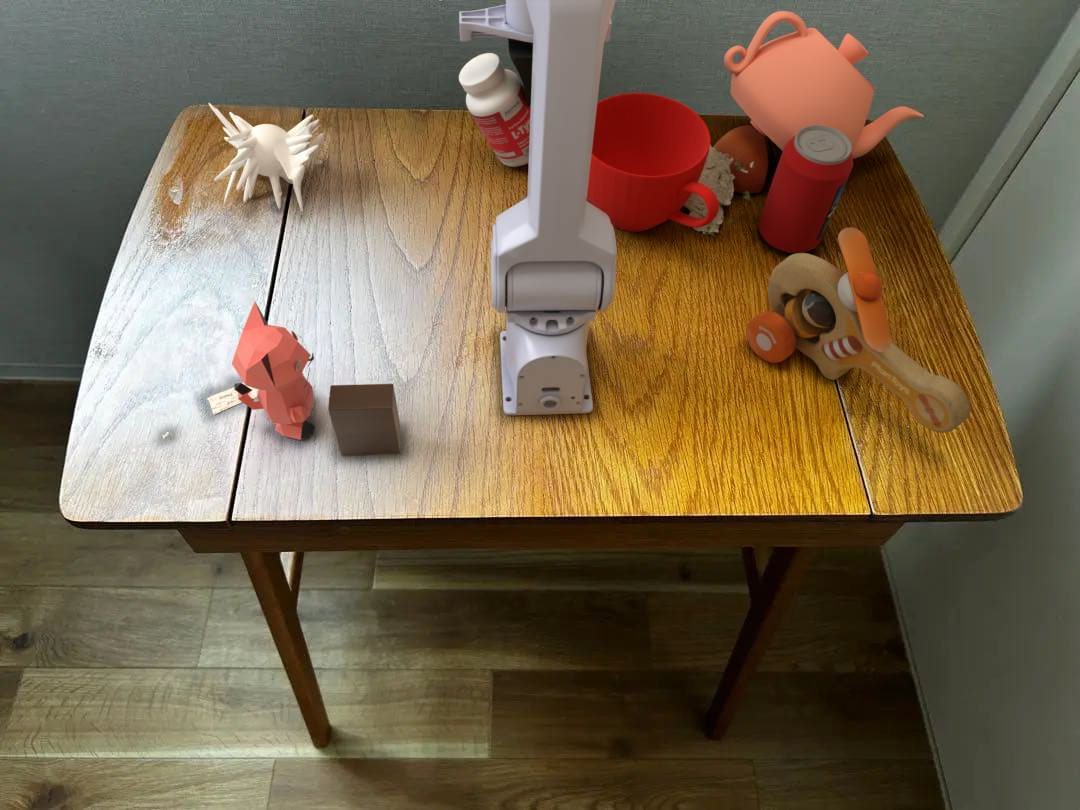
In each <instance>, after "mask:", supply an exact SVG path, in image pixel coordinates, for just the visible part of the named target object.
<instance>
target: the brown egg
mask: <svg viewBox="0 0 1080 810" xmlns="http://www.w3.org/2000/svg"><path fill="white" fill-rule="evenodd" d="M764 137H765V136H763V135H762V134H761V133H760V132H759V131H758V130H757V129H756V128H755V127H754V126H753V125H741V126H738V127H735V128H733V129H731V130H729V131H728V132H726V133H725V134H724V135H723V136H722V137H721V138H720V139H718V140H717V141H716V142H715V144H714V145H713V147H714V148H715V149H716V151H720V152H722V154H726V155H725V156H727V154H728V156H727V157H728V158H729V159H731V157H732V158H733V161H732V162H731V164H730V168H729V169H730V172H731V173H732V174H733V175H734V176H735V178H734V179H733V180H732V181H733V185H734V186H733V187H734V192H736V193H740V194H744V193H745V192H746V191H749V194H757V193H761V191H762V190H763V188H764V185H765V182H766V178H767V174H768V169H769V168H768V167H769V166H768V165H769V158H768V148H767V143H766V140H765V138H764ZM713 150H714V149H713ZM729 156H730V157H729ZM739 157H740V158H739ZM742 157H743V159H742ZM738 158H739V159H738ZM735 159H737V160H735ZM736 161H737V162H738V161H740V162H741V163H742V164H743V165H744V164H745V165H744V169H745V171H748V173H745V172H743V171H741V170H740V169H741V168H740V166H741V165H740V166H739V169H738V170H735V166H734V165H735V163H736ZM707 162H708V161H707ZM752 162H754V164H753V165H754V166H753V168H751V167H750V165H751V163H752ZM755 169H756V170H755ZM719 178H721V173H720V176H719ZM719 178H718V180H719ZM743 192H744V193H743Z"/></svg>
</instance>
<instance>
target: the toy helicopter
mask: <svg viewBox="0 0 1080 810" xmlns="http://www.w3.org/2000/svg"><path fill="white" fill-rule="evenodd" d="M837 236H838V237H837V242H838V245H839V248H840V251H841V255H842V258H843V261H844V263H845V267H846V270H847V272H845V273H843V272H842V271H841V270H840V269H839V268H838V267H836V266H835V265H834V264H832V263H830V262H829V261H827V260H825V259H824V258H821V257H819V256H817V255H814V254H810V253H806V252H802V253H793V254H792V253H791V255H788V256H787V257H786V258H785V259H783V260H782V261H780V262H779V263H778V264H777V265H776V266H775V267H774V269H773V270H772V271H771V274H770V277H769V279H768V284H767V297H768V304H769V307H770V310H765V311H761V312H759V313H757V315H755V316H753V317H752V318H751V319H750V320H749V321H748V322H747V325H746V328H745V334H746V335H745V336H746V339H747V342H748V344H749V347H750V348H751V349H752V351H753V352H754V353H755V355H757V356H758V357H759V358H761V359H762V360H763V361H765V362H768V363H773V364H777V363H781V362H783V361H785V360H786V359H787V358H789V357H790V356H791V355H793V353H794V352H795V350H796V349H797V350H798V351H800V352H801V353H802V354H804V356H807V357H808V358H809V359H811V360H812V361H813V362H814V363H815V364H816V366H817V368H818V370H819V371H820V373H821V375H822V376H823V377H825V379H828V380H830V381H833V380H834V381H835V380H837V379H839V378H841V377H842V376H843V375H844V374H846V373H847V372H849V370H850V369H854V368H855V369H860V370H862V371H864V372H866V373H867V374H868V375H869V376H871V377H872V378H874V379H875V380H876V381H877V382H878V383H880V384H881V385H882V386H884V387H885V388H887V390H889V391H890V392H892V393H893V394H894V395H895V396H897V397H899V399H901V400H902V401H903V402H904V403H905V404H906V406H907V407H908V409H909V411H910V414H911V416H913V418H914V419H915V420H916V422H918V423H919V424H920V425H921V426H922V427H924V428H925V429H926V430H927V429H928V430H930V431H931V432H934V433H939V434H940V433H941V434H945V433H950V432H952V431H954V430H955V429H956V428H957V427H959V426H960V425H962V424H963V423H964V422H966V421H967V420H968V419H969V416H970V414H971V403H970V400H969V397H968V396H967V394H966V392H965V391H964V390H963V388H961V386H959V384H958V383H957V382H955V381H953V380H951V378H948V377H946V376H942V375H938V374H934V373H931V372H930V371H928V370H927V369H926V368H924V367H922V365H921V364H919V363H918V362H917V361H916V360H915V359H913V358H912V357H911V356H910V355H909V354H908V353H906V352H905V351H904V350H903V349H901V348H900V347H899V346H898V345H896V344H895V343H894V342H893V337H892V333H891V328H890V325H889V324H890V323H889V321H888V320H889V319H888V316H887V313H886V309H885V304H884V300H883V299H884V298H883V295H882V290H883V282H882V279H881V277H880V276H878V275H877V270H876V266H875V262H874V259H873V255H872V252H871V249H870V246H869V243H868V240H867V239H868V238H867V237H866V236H865V234H864V233H863V232H862V231H861V230H859V229H858V228H856V227H845V228H843V229H841V230H840V231H839V233H838V235H837Z"/></svg>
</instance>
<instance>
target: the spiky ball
mask: <svg viewBox="0 0 1080 810" xmlns="http://www.w3.org/2000/svg"><path fill="white" fill-rule="evenodd" d="M208 106H209V107H210V109H211V110H212V112H213V113H214V114H215V115H216V117H217V118H218V119H219V120H220V122H221V123H222V124H223V125H224V126H222V129H223V131H224V132H225V133H226V135H227V136H223V139H224V140H225V142H227V143H229V144H230V145H231V146H233V147H234V148H236V149H237V153H236V156H235V157H234V158H233V159H232V160H231V161H230V162H229V164H228V166H227V167H226V168H224V170H222V171H221V172H220V173H219V174H217V175H216V177H215V178H214V179H213V182H218V181H220V180H221V179H224V178H226V177H227V176H228V175H230V174H231V175H230V179H229V181H228V185H227V188H226V191H225V194H224V200H223V204H222V205H223V206H222V207H225V205H226V204H227V201H228V198H229V196H230V193H231V191H232V187H233V185H234V182H235V179H236V177H237V175H238V171H239V169H240V168H242V167H243V168H242V171H241V175H240V176H239V180H238V182H237V185H236V191H237V192H238V191H240V190H241V188H242V189H244V192H243V203H246V202H247V201H248V200H249V199H250V200H251V199H252V198H253V195H254V191H255V187H256V183H257V180H258V179H257V178H258V176H259V175H261V176H263V177H268V178H269V181H270V184H271V188H272V189H271V190H272V192H273V197H274V199H275V203H276V207H277V209H278V210H280V209H281V208H282V200H281V199H282V197H281V196H282V195H283V191H282V187H281V183H280V178H282V179H283V180H285V181H286V182H287V183H289V184H290V185H293V190H294V193H295V196H296V200H297V204H298V206H299V209H300V211H301V212H302V213H303V212H304V210H303V200H302V191H301V189H302V188H301V186H302V182H303V178H304V174H305V169H306V168H305V165H306V164H307V162H308V161H310V160H311V159H312V158H313V157H314V161H313V165H321V164H322V163H323V160H320V159H318V156H319V153H320V150H321V148H322V144H323V141H324V137H325V135H324V132H323V133H322V132H321V133H319V135H317V137H315V138H314V140H313V141H312V142H311V141H309V140H310V139H312V138H313V135H312V134H313V133H314V132H315V131H316V130H317V129H318V128H319V127H320V126H321V124H320V125H318V124H319V122H320V121H321V120H320V118H318V119H315V120H314V121H312V120H313V117H314V114H310V115H308V116H307V117H305V118H304V119H303V120H302V121H300V122H299V123H297V124H296V125H295V126H294V127H292V128H291V129H289V130H288V131H286V130H285V129H283V128H282V127H280V126H278V125H277V124H276V125H275V124H271V123H262V124H258V125H255V126H253V125H251V124H250V123H249V122H248V121H246V120H245V119H244V118H242V117H240V116H239V115H237V114H236V115H235V114H234V113H233V112H232V111H229V116H230V118H231V119H232V122H234V125H235V126H236V127H235V126H234V125H233V124H232V123H231V122H230V121H229V119H227V118H226V117H225V116H224V115H223V113H222V112H221V111H220V110H219V109H218V108H216V107H215V106H214V105H212V103H211V102H208ZM311 121H312V122H311ZM317 125H318V126H317ZM316 126H317V127H316Z"/></svg>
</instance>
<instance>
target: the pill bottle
mask: <svg viewBox="0 0 1080 810" xmlns="http://www.w3.org/2000/svg"><path fill="white" fill-rule="evenodd" d="M458 81H459V84H460V85H461V87H462V88H463V90H464V92H465V93H466V96H465V104H466V108H467V110H468V111H469V113H470V115H471V116H472V118H473V120H474V121H475V123H476V125H477V126H478V128H479V130H480V131H481V133H482V134H483V136H484V137H485V140H486V141H487V142H488V144H489V146H490V147H491V150H492V151H493V153H494V154H495V156H496V157H497V159H498V160H499V161H500V163H501V164H502V165H505V166H507V167H512V168H515V167H521V166H525V165H527V164H529V141H530V115H531V106H527V105H526V94H525V90H524V86H523V83H522V81H521V79H520V77H519V76H518V75H517V74H516V73H515V72H514V71H513V70H511V69H508V68H505V66H504V64H503V62H502V61H501V58H500V57H499V56H498V55H497V54H496V53H494V52H493V53H492V52H486V53H482V54H478V55H476V56H475V57H473V58H472V59H470V60H469V61H468V62H467V63H466V64H465V65H464V66H462V68H461V70H460V72H459V74H458Z"/></svg>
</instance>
